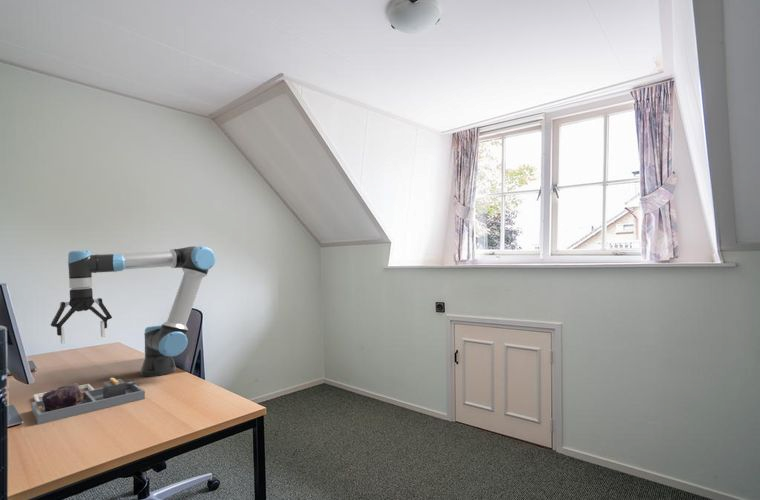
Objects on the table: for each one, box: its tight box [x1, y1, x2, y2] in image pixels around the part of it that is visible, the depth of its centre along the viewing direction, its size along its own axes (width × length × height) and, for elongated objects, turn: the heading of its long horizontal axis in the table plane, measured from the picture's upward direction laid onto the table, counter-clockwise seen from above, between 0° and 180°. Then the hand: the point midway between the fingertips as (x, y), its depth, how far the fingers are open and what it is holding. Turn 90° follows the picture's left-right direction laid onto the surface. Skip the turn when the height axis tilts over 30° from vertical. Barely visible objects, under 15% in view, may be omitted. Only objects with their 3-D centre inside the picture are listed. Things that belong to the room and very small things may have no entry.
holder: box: [31, 377, 146, 425], centre depth 157 cm, size 33×17×8 cm, turn 136°
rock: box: [41, 382, 84, 411], centre depth 151 cm, size 12×9×10 cm
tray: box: [33, 383, 95, 402], centre depth 166 cm, size 19×17×2 cm
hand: (83, 339), depth 166 cm, fingers open, 13 cm apart
